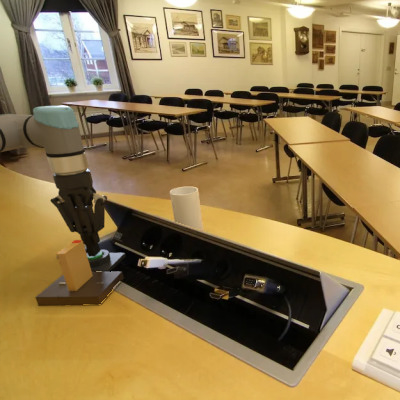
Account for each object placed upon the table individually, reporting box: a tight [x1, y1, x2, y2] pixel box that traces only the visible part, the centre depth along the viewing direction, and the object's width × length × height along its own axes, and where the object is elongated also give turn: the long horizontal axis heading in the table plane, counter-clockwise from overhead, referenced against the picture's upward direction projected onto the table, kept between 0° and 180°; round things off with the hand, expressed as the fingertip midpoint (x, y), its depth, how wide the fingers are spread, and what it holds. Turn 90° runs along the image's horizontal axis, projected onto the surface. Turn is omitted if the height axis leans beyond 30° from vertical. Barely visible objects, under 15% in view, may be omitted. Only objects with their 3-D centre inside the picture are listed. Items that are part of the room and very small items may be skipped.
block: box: [86, 249, 127, 272], centre depth 89 cm, size 11×9×3 cm
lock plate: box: [34, 271, 125, 307], centre depth 78 cm, size 14×10×3 cm
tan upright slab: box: [56, 239, 93, 291], centre depth 75 cm, size 6×2×10 cm, turn 1°
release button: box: [87, 251, 103, 260], centre depth 88 cm, size 4×4×2 cm
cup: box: [169, 185, 205, 232], centre depth 103 cm, size 8×8×16 cm
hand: (94, 253), depth 88 cm, fingers closed
